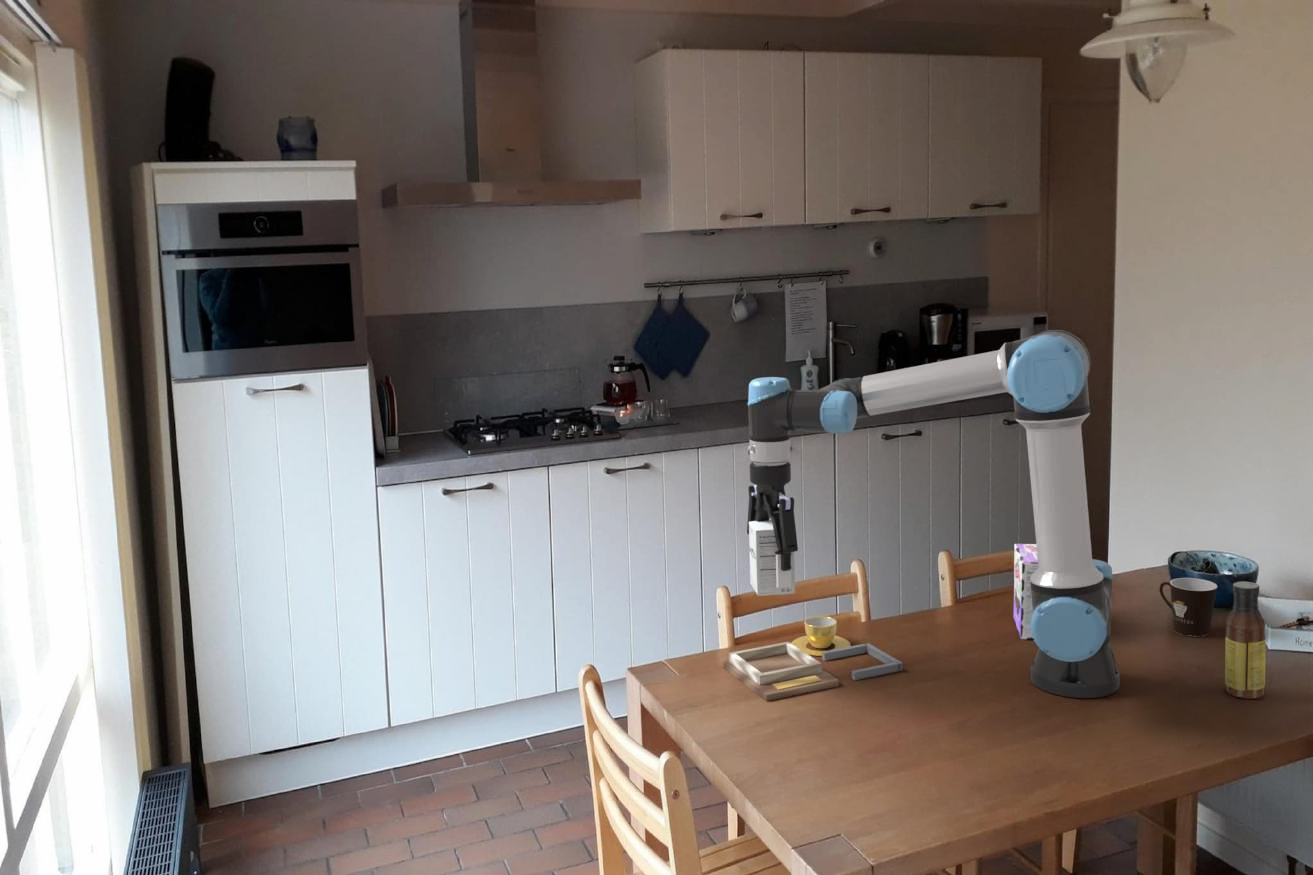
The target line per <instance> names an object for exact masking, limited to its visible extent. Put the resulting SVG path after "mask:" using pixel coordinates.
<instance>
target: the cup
mask: <svg viewBox="0 0 1313 875" xmlns="http://www.w3.org/2000/svg"><path fill="white" fill-rule="evenodd" d="M837 623H838V621H837V620H836V619H835V618H832V617H829V616H812V617H811V616H810V617H808V618H806V619H805V620H804V630H805V634H806V635H802V636H798V637H797V638H795V639H793V640H792V641H791V642H790V643H791V644H792V645H794V646H796V647H797V648H799V649H800V650H802V651H803V652H805V653H806V654H808V655H809V656H817V657H822V652H824V651H825V650H821V649H827V648H829V647H831V645H832V644H834V647H833V648H832V649H830V650H835V649H840V648H845V647H850V646H852V645H851V642H850V641H849V640H848V639H846V638H843V637H841V636H838V635H836V632H837ZM808 644H810V645H811V646H812V647H813V648H815V649H818V650H813V649H810V648H808V647H807V645H808ZM819 649H820V650H819ZM830 650H829V649H828V650H827V651H830Z"/></svg>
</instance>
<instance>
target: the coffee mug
mask: <svg viewBox="0 0 1313 875" xmlns="http://www.w3.org/2000/svg"><path fill="white" fill-rule="evenodd" d="M1165 586H1168V587H1170V588H1169V590H1170V600H1171V602H1169V600H1168V599H1167V598H1166V596H1165V594H1164V590H1163V589H1164V587H1165ZM1217 590H1218V585H1217V584H1216V583H1215V582H1214V581H1210V580H1208V579H1207V580H1206V579H1202V578H1195V577H1180V578H1179V577H1178V578H1174V579H1171V580H1170V581H1164V582H1161V583H1160V585H1159V591H1158V592H1159V594H1160V596H1161V598H1162V600H1163V601H1164V603H1165V604H1166V605H1167V606H1168V607H1169V608H1170V610H1171V611H1172V621H1173V622H1172V623H1173V624H1172V625H1173V631H1174V630H1175V631H1176V632H1178V633H1181V634H1183V635H1192V636H1194V635H1195V636H1202V635H1207V634H1208V633H1209V634H1210V629H1211V625H1212V619H1213V613H1214V608H1215V601H1216V596H1217ZM1175 631H1174V632H1175ZM1176 632H1175V633H1176ZM1183 635H1182V636H1183Z"/></svg>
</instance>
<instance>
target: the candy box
mask: <svg viewBox="0 0 1313 875" xmlns="http://www.w3.org/2000/svg"><path fill="white" fill-rule="evenodd" d="M1013 549H1014V551H1013V553H1014V554H1013V556H1014V557H1013V564H1014V565H1013V567H1014V568H1013V575H1014V576H1013V583H1014V584H1013V621H1014V623H1015V625H1016V630H1017V631H1018V635H1019V638H1020V640H1027V639H1033V637H1032V634H1031V629H1030V620H1031V616H1032V613H1033V607H1032V595H1031V583H1030V577H1031V575H1032V574H1033V573H1034V572H1035V571H1036V570H1037V569H1038V556H1037V545H1036V543H1014V545H1013Z"/></svg>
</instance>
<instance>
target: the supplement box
mask: <svg viewBox="0 0 1313 875" xmlns="http://www.w3.org/2000/svg"><path fill="white" fill-rule="evenodd" d="M748 536H749V539H748V540H749V543H748V544H749V546H748V547H749V580H750V586H752V588H753V589H754V591H755V593H756V595H757V596H759V597H761V596H765V597H766V596H776V595H777V596H778V595H779V596H780V595H792V594H795V593H796V576H795V575H796V574H795V573H796V572H795V552H792V553H791V586H788V587H782V588H777V587H776V554H775V552H776V551H778V547H777V543H776V538H775V534H774V529H773V525H772V520H771V519H769V520H767V521H760V522H757V521H751V522H749V535H748Z"/></svg>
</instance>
